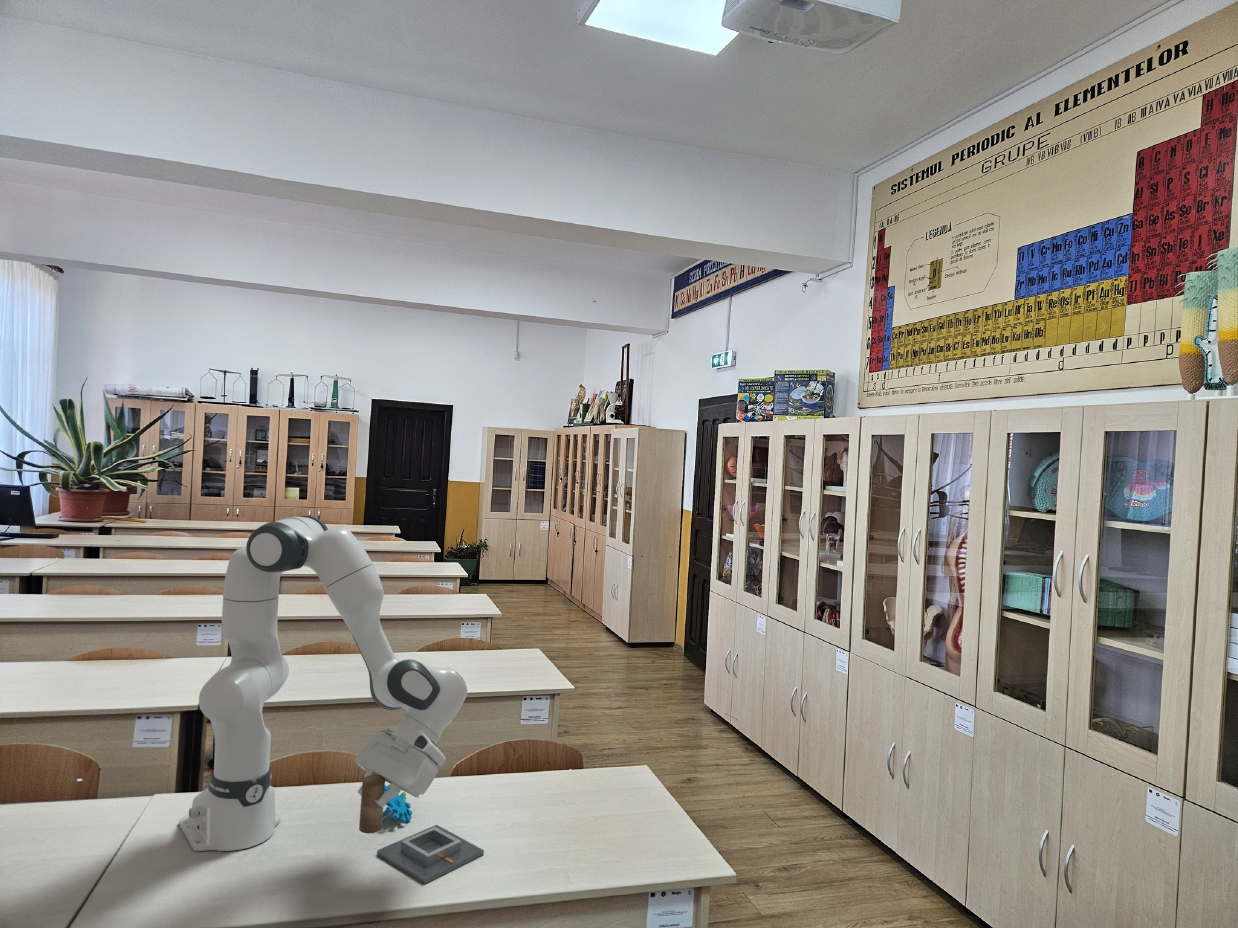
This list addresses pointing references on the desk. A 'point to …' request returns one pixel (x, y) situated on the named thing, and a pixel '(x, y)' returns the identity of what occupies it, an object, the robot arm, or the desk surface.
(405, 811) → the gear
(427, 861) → the square frame on plate
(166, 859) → the desk surface
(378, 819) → the pin
